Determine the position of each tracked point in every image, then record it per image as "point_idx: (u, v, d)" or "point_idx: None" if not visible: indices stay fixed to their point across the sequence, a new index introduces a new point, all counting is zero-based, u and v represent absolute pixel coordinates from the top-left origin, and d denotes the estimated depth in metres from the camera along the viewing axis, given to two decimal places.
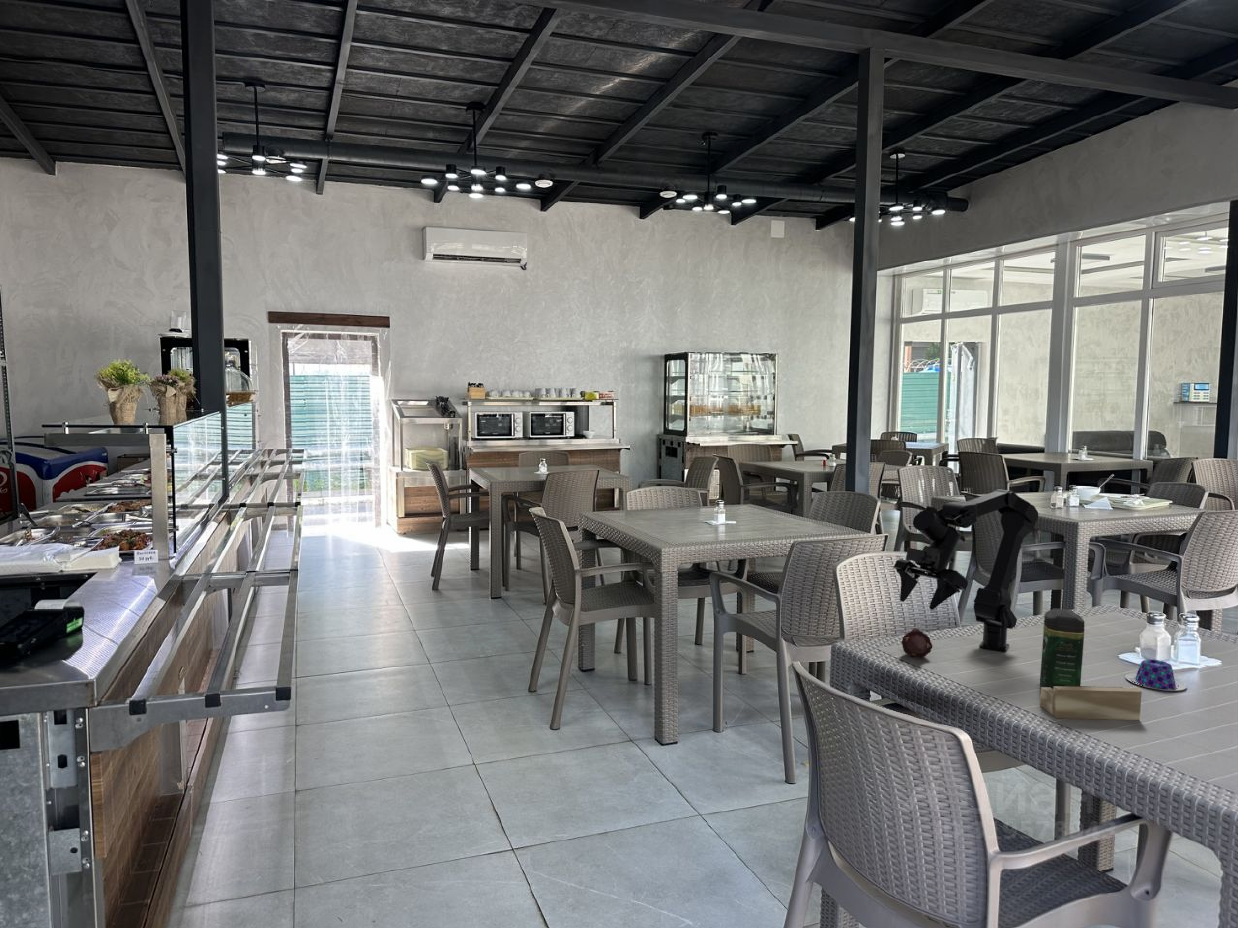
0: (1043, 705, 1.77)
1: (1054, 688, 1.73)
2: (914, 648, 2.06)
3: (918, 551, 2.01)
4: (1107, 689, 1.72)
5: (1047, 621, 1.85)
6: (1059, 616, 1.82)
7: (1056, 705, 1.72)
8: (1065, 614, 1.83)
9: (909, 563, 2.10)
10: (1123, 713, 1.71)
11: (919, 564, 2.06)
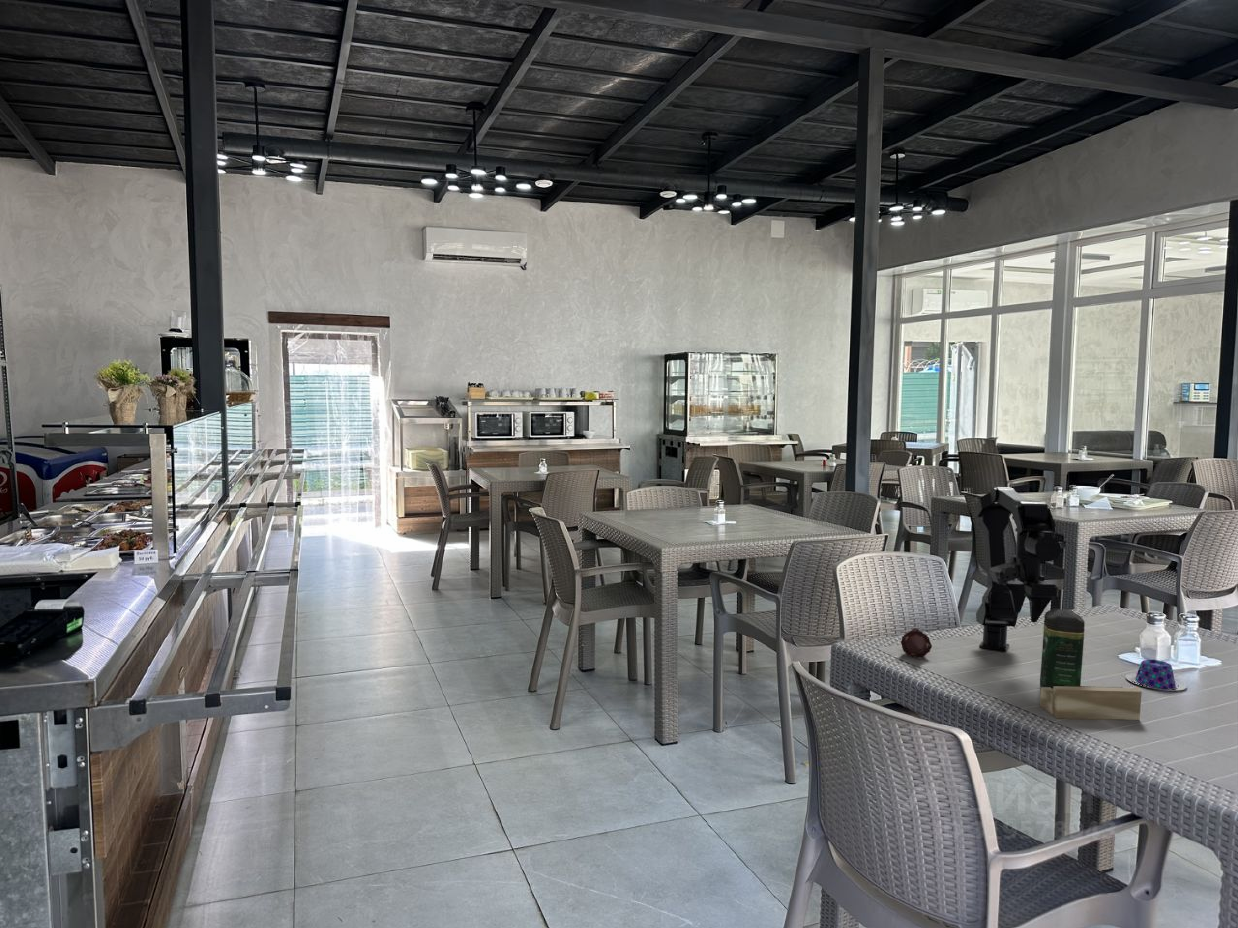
0: (1043, 705, 1.77)
1: (1054, 688, 1.73)
2: (913, 648, 2.06)
3: (995, 573, 1.99)
4: (1107, 689, 1.72)
5: (1047, 621, 1.85)
6: (1059, 616, 1.82)
7: (1056, 705, 1.72)
8: (1065, 614, 1.83)
9: None
10: (1123, 713, 1.71)
11: None
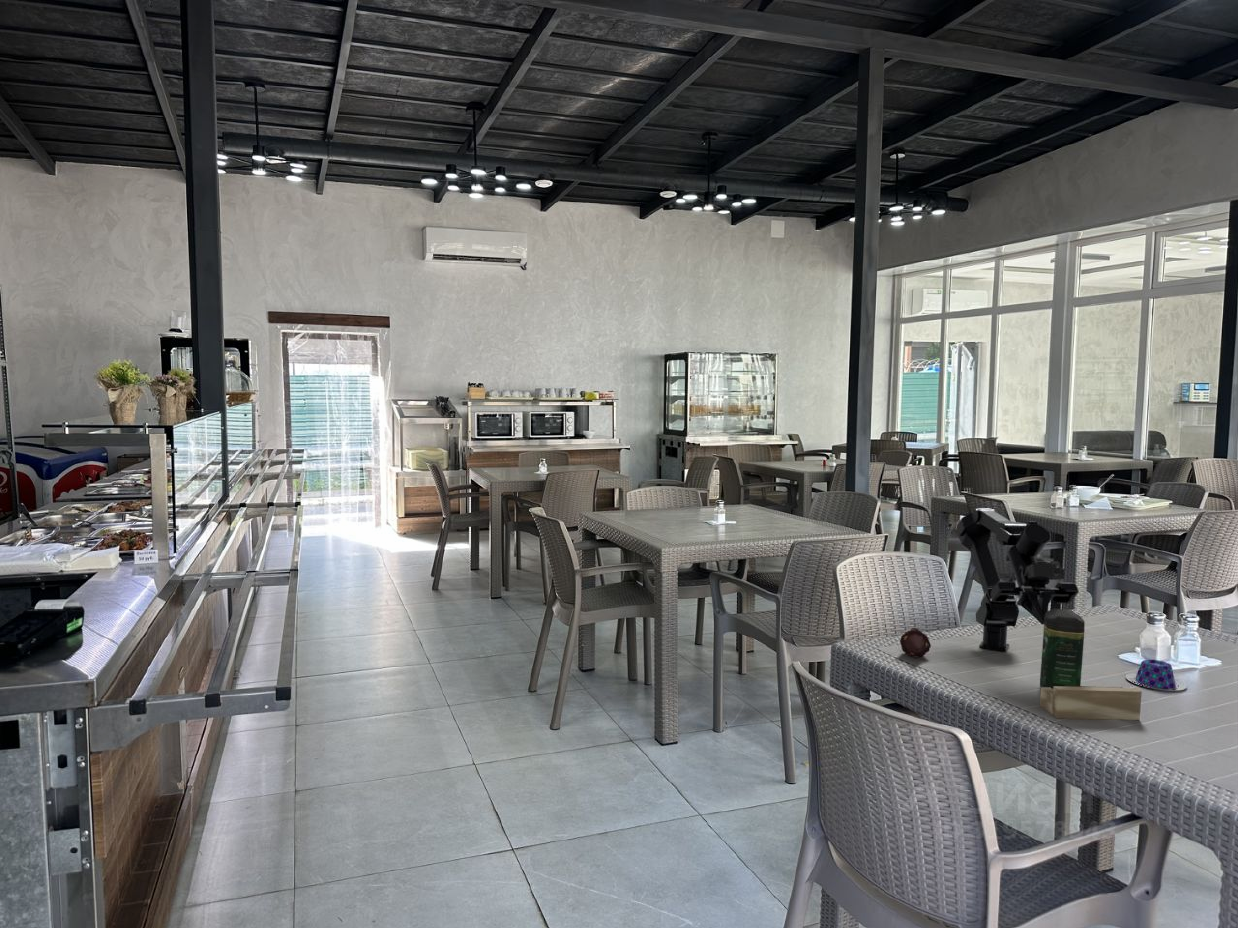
0: (1043, 705, 1.77)
1: (1054, 688, 1.73)
2: (912, 647, 2.07)
3: (1051, 565, 1.94)
4: (1107, 689, 1.72)
5: (1047, 621, 1.85)
6: (1059, 616, 1.82)
7: (1056, 705, 1.72)
8: (1065, 614, 1.83)
9: None
10: (1123, 713, 1.71)
11: (1029, 582, 1.98)
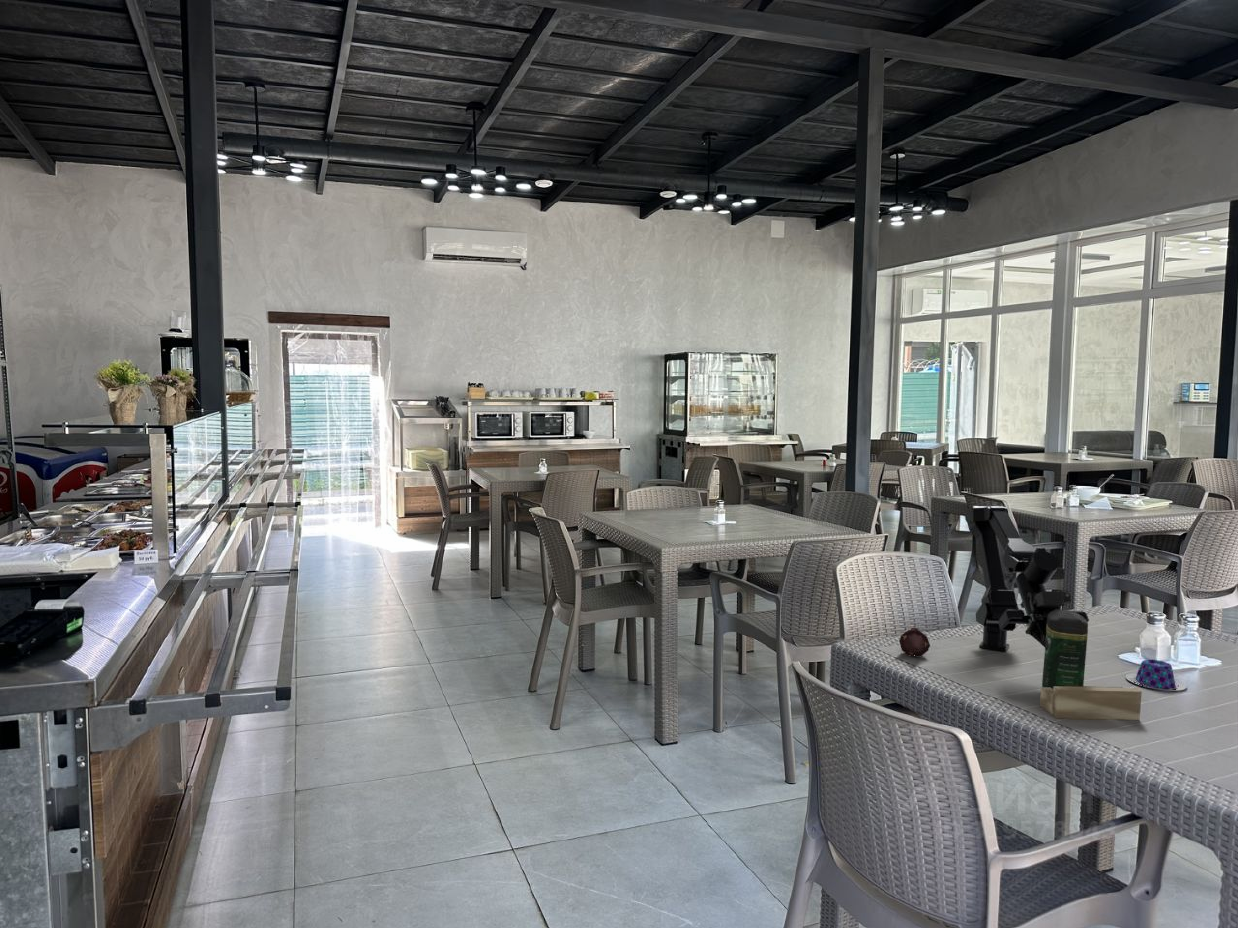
0: (1043, 705, 1.77)
1: (1054, 688, 1.73)
2: (911, 647, 2.07)
3: (1060, 593, 1.90)
4: (1107, 689, 1.72)
5: (1050, 622, 1.83)
6: (1062, 618, 1.81)
7: (1056, 705, 1.72)
8: (1069, 615, 1.82)
9: None
10: (1123, 713, 1.71)
11: (1038, 610, 1.93)
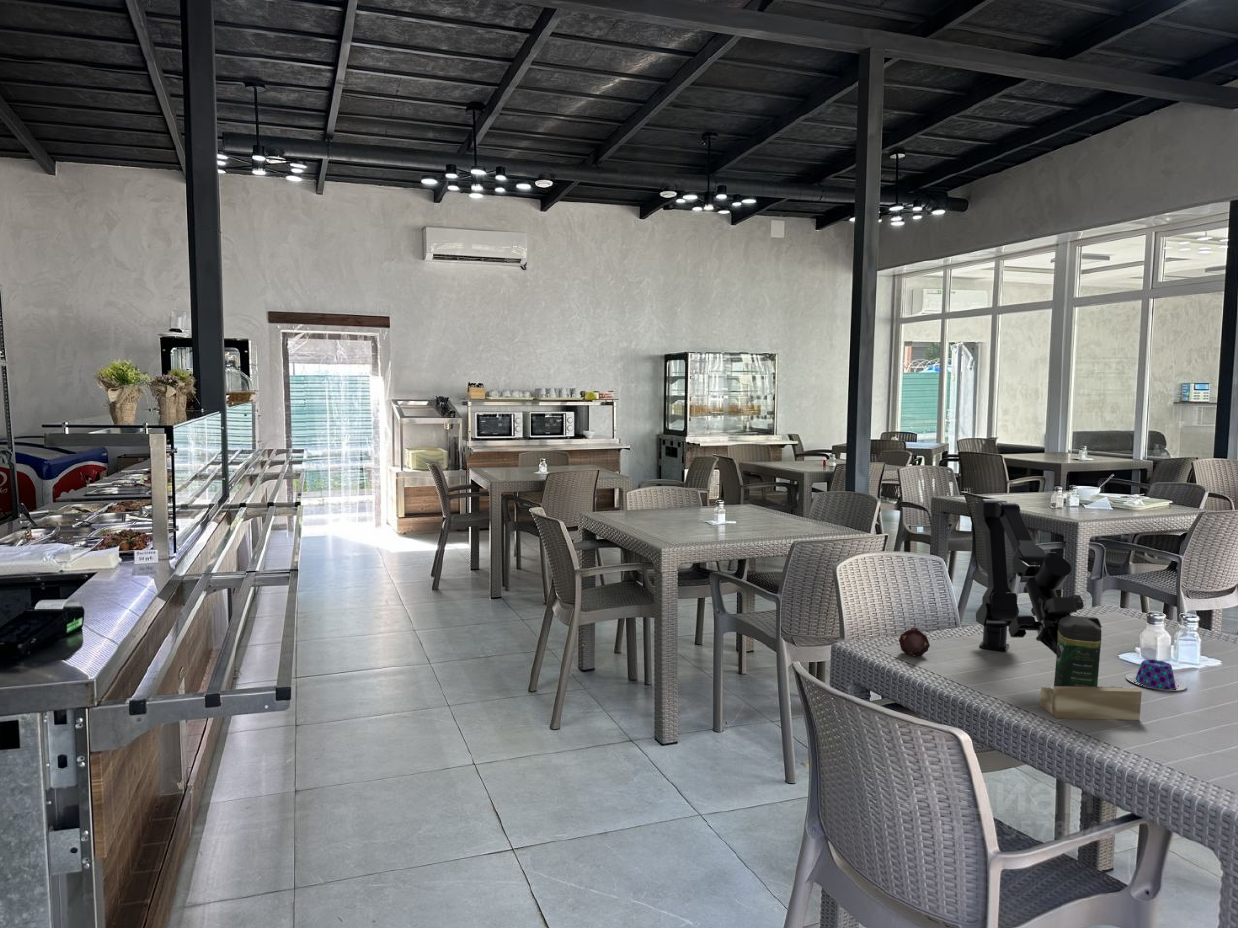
0: (1043, 705, 1.77)
1: (1054, 688, 1.73)
2: (910, 647, 2.07)
3: (1072, 599, 1.85)
4: (1107, 689, 1.72)
5: (1063, 629, 1.78)
6: (1076, 624, 1.76)
7: (1056, 705, 1.72)
8: (1082, 622, 1.76)
9: None
10: (1123, 713, 1.71)
11: (1049, 616, 1.88)
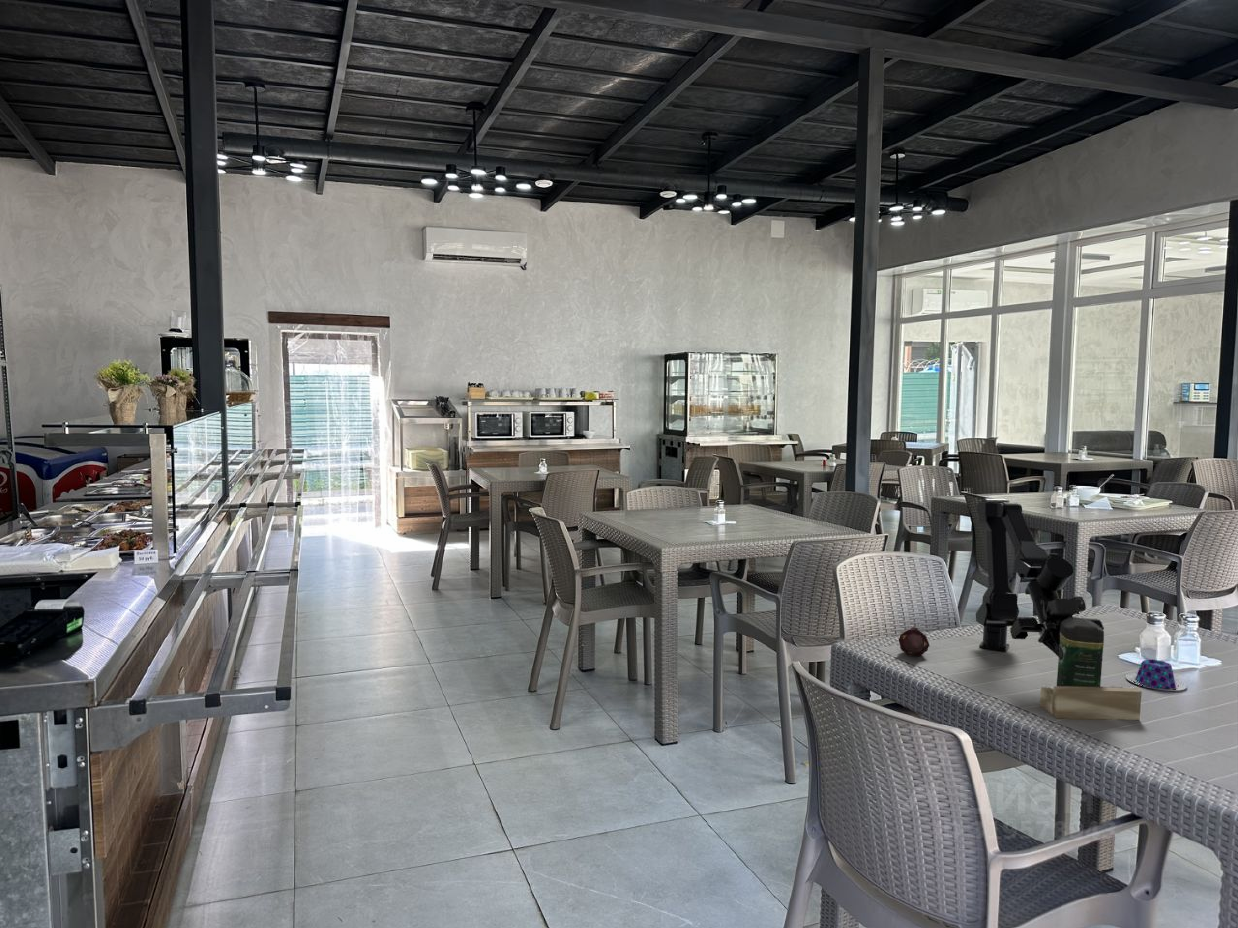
0: (1043, 705, 1.77)
1: (1054, 688, 1.73)
2: (910, 646, 2.08)
3: (1075, 601, 1.84)
4: (1107, 689, 1.72)
5: (1065, 631, 1.77)
6: (1078, 626, 1.75)
7: (1056, 705, 1.72)
8: (1084, 623, 1.76)
9: None
10: (1123, 713, 1.71)
11: (1051, 618, 1.87)
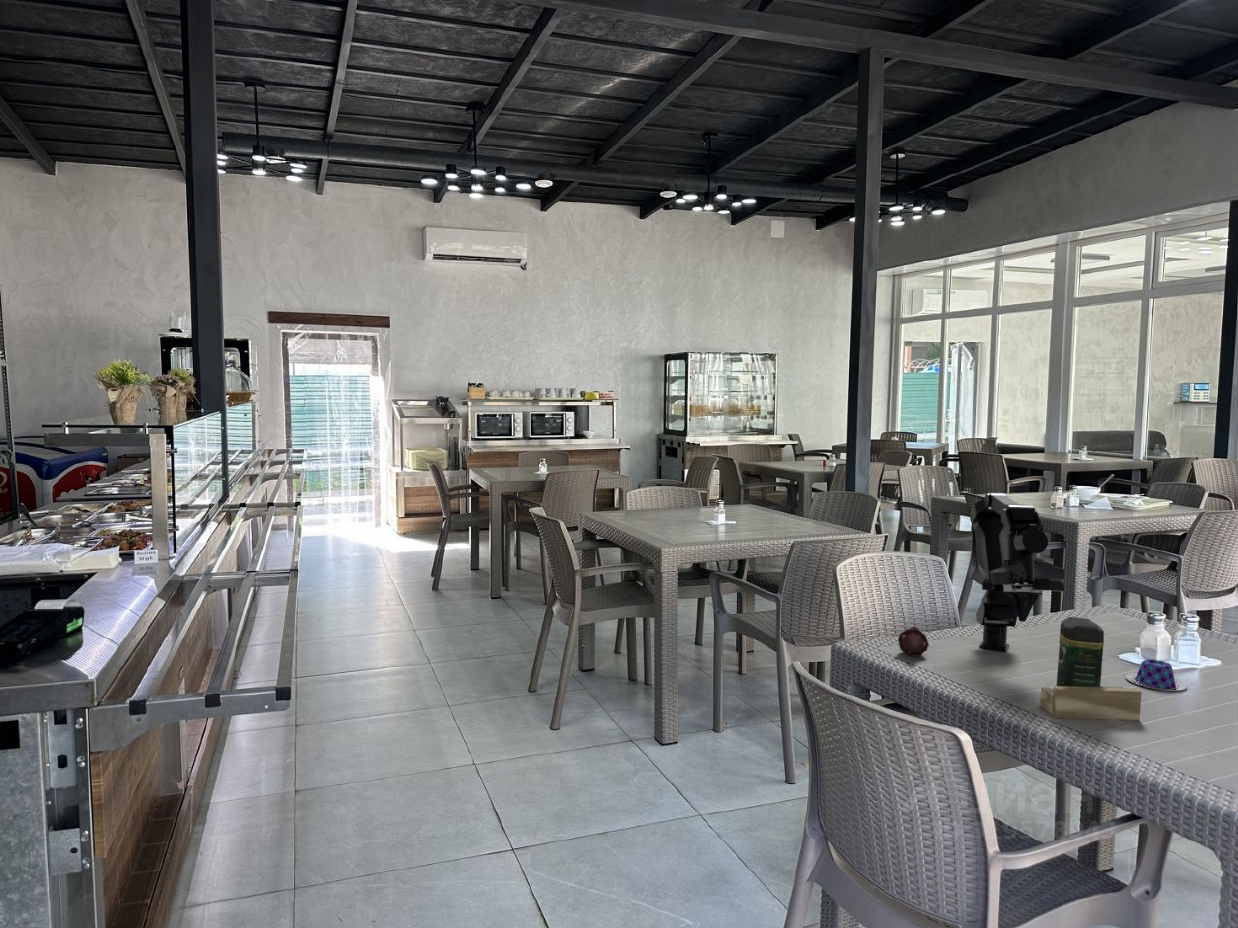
0: (1043, 705, 1.77)
1: (1054, 688, 1.73)
2: (909, 646, 2.08)
3: (1002, 574, 1.97)
4: (1107, 689, 1.72)
5: (1065, 631, 1.77)
6: (1078, 626, 1.75)
7: (1056, 705, 1.72)
8: (1084, 623, 1.76)
9: None
10: (1123, 713, 1.71)
11: None
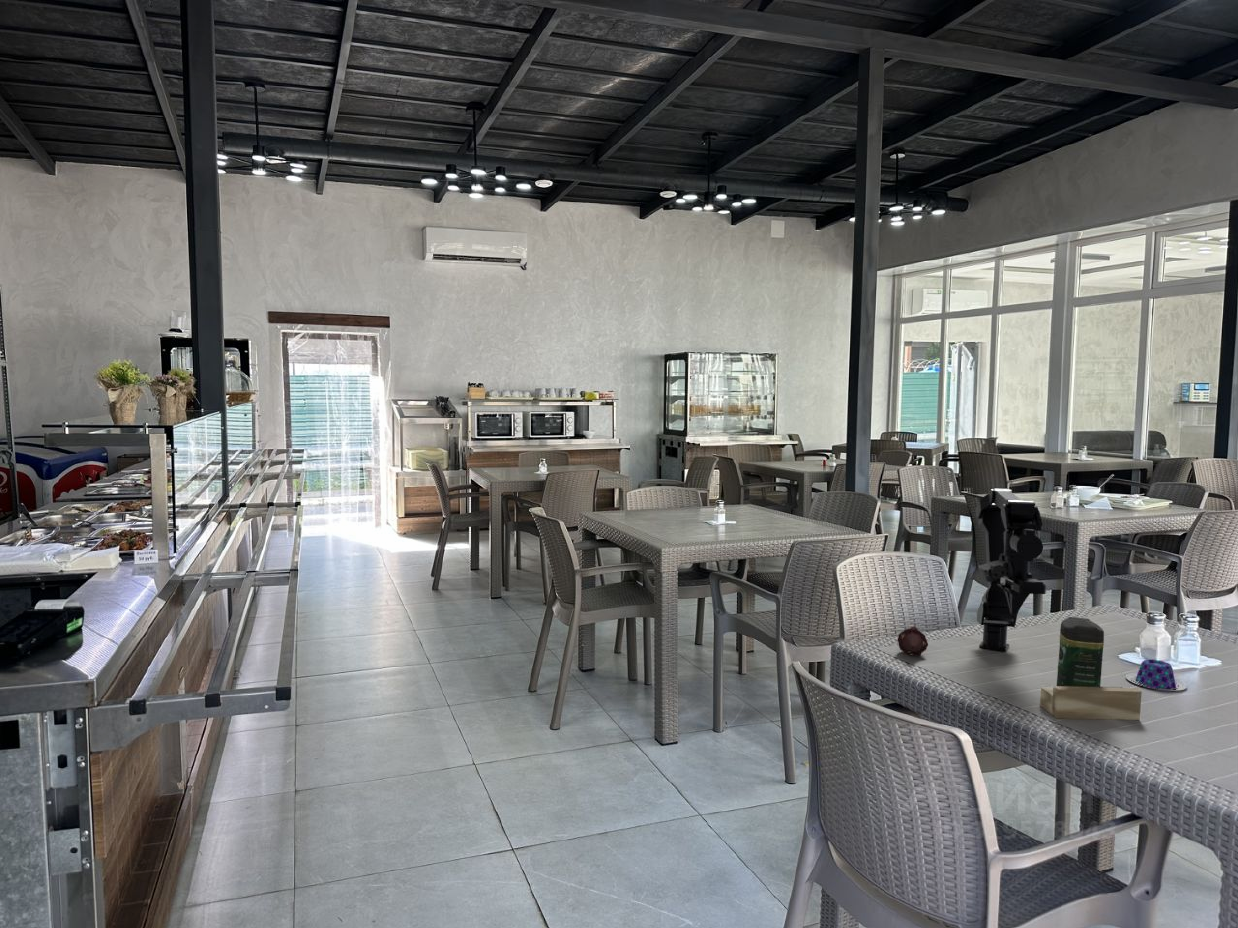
0: (1043, 705, 1.77)
1: (1054, 688, 1.73)
2: (908, 645, 2.08)
3: (984, 571, 2.01)
4: (1107, 689, 1.72)
5: (1065, 631, 1.77)
6: (1078, 626, 1.75)
7: (1056, 705, 1.72)
8: (1084, 623, 1.76)
9: None
10: (1123, 713, 1.71)
11: None
